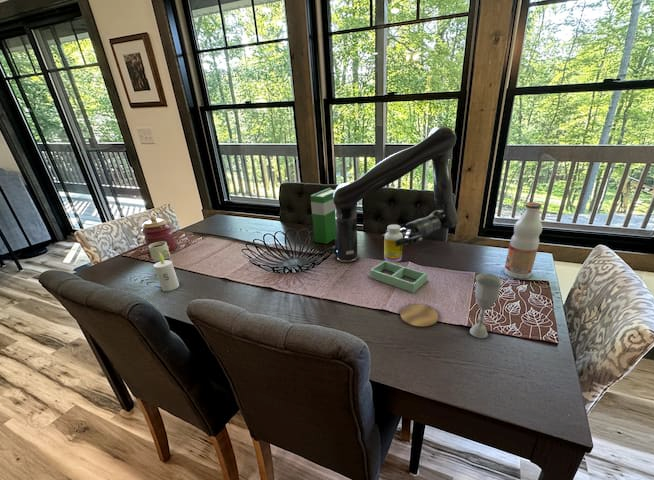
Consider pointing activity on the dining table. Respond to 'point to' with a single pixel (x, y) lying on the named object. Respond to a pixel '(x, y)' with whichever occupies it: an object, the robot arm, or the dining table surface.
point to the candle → (166, 274)
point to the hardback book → (323, 216)
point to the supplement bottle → (392, 244)
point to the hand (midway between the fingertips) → (389, 240)
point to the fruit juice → (524, 243)
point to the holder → (398, 276)
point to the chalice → (485, 299)
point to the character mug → (157, 248)
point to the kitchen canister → (158, 232)
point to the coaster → (419, 315)
